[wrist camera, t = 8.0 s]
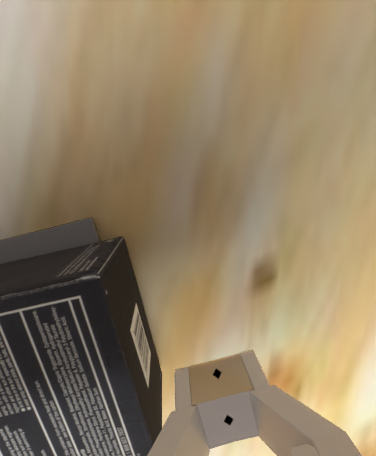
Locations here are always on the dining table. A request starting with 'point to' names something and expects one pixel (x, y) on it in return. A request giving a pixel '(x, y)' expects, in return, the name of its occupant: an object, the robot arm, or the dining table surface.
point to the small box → (76, 356)
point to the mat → (48, 240)
